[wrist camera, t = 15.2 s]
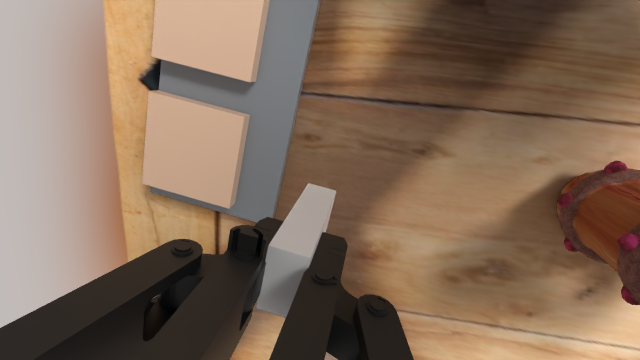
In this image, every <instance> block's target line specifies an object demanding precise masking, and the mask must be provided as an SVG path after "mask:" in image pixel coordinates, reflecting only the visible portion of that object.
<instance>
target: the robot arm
mask: <svg viewBox="0 0 640 360" xmlns="http://www.w3.org/2000/svg"><path fill="white" fill-rule="evenodd" d="M335 195H336V191H335V190H332V189H328V188H324V187H321V186H317V185H314V184H310V183H308V185H307V186H306V188H305V189H304V191H303V192H302V194H301V196H300V197H299V199H298V200H297V202H296V203H295V205H294V206H293V208H292V210H291V211H290V213H289V214H288V216H287V217H286V219H285V220H284V221H280V220H277V219H274V218H270V217H266V218H264V219H261V220H259V221H258V223H257V224H256V225H255V227H254V226H249V225H240V226H236V227H234V228H232V229H231V230H230V235H229V242H228V248H227V251H226V252H225V253H224V254H222V255H212V254H202V251H203V249H202V247H201V245H200V244H198V243H197V242H195V241H192V240H188V239H177V240H172V241H170V242H167V243H165V244H163V245H161V246H159V247H157V248H155V249H153V250H151V251H150V252H148V253H146V254H144V255H142V256H140V257H138V258H136V259H134V260H132V261H130V262H128V263H126V264H124V265H122V266H120V267H118V268H116V269H114V270H113V271H111V272H109V273H107V274H105V275H103V276H101V277H99V278H97V279H95V280H93V281H91V282H89V283H88V284H85V285H83V286H81V287H79V288H77V289H76V290H74V291H72V292H70V293H68V294H66V295H64V296H62V297H60V298H58V299H56V300H54V301H52V302H50V303H48V304H46V305H45V306H42V307H40V308H39V309H37V310H35V311H33V312H31V313H29V314H27V315H25V316H23V317H21V318H19V319H17V320H15V321H13V322H11V323H9V324H7V325H5V326H3V327H2V328H0V360H229V359H230V357H231V356H232V354H233V352H234V350H235V348H236V346H237V344H238V342H239V340H240V338H241V336H242V335H243V333H244V331H245V329H246V327H247V325H248V323H249V321H250V319H251V316H252V312H253V307H254V305H255V303H256V301H257V299H258V301H257V306H256V308H257V309H260V310H263V311H266V312H270V313H273V314H276V315H279V316H282V317H285V318H286V319H285V322H284V324H283V327H282V329H281V332H280V334H279V337H278V339H277V342H276V344H275V347H274V349H273V352H272V354H271V357H270V359H269V360H324V359H325V354H326V352H328V353H329V354H331V355H332V356H334V357H335V358H337V359H338V360H414V359H413V356H412V354H411V351H410V348H409V345H408V342H407V339H406V337H405V334H404V331H403V328H402V325H401V323H400V320H399V317H398V314H397V311H396V310H395V308H394V306H393V305H392V304H391V303H390V302H389V301H388V300H386V299H384V298H382V297H380V296H376V295H367V294H366V295H363V296H361V297H360V298H359V299H357V298H355V297H354V296H352V295H351V294H349V293H348V292H347V291H346V290H345V289H344V288H343V286H342V284H341V274H342V270H343V265H344V260H345V256H346V251H347V246H348V245H347V243H346V241H345V239H344V238H342V237H338V236H335V235H332V234H328V233H326V229H327V226H328V222H329V218H330V214H331V210H332V207H333V203H334V199H335ZM157 295H158V296H157ZM155 296H157V297H155ZM154 297H155V298H154ZM153 298H154V299H153Z"/></svg>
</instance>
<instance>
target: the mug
mask: <svg viewBox="0 0 640 360" xmlns="http://www.w3.org/2000/svg"><path fill="white" fill-rule="evenodd" d="M557 202H558V204H557V214H558V217H559V218H560V224H561V227H562V230H563V232H564V234H565V237H566V239H565V240H564V244H565V247H566V249H568V250H569V251H573V252H576V251H580V252H582V253H583V254H585V255H586V256H587V257H589V258H591V259H594V260H596V261H599V262H603V263H606V264H610V265H611V266H612V267H613V268H614V269H615V270H616V271H617V272H618V274H619V276H620V278H621V280H622V282H623V285H624V286H623V288H622V289H621V294H622V298H623V299H624V300H625V301H626V302H627V303H630V304H632V305H640V170H634V169H627V167H626V165H625V164H624V163H622V162H620V161H614V162H611V163H610V164H608V165H607V166H606V167H605V169H604V170H600V171H597V172H594V173H585V174H583V175H581V176H579V177H577V178H575V179H573V180H572V181H570V182H569V183H568V184H567V185H566V186H565V187H564V188H563V190H562V192H561V195H560V196H559V197H558V200H557Z"/></svg>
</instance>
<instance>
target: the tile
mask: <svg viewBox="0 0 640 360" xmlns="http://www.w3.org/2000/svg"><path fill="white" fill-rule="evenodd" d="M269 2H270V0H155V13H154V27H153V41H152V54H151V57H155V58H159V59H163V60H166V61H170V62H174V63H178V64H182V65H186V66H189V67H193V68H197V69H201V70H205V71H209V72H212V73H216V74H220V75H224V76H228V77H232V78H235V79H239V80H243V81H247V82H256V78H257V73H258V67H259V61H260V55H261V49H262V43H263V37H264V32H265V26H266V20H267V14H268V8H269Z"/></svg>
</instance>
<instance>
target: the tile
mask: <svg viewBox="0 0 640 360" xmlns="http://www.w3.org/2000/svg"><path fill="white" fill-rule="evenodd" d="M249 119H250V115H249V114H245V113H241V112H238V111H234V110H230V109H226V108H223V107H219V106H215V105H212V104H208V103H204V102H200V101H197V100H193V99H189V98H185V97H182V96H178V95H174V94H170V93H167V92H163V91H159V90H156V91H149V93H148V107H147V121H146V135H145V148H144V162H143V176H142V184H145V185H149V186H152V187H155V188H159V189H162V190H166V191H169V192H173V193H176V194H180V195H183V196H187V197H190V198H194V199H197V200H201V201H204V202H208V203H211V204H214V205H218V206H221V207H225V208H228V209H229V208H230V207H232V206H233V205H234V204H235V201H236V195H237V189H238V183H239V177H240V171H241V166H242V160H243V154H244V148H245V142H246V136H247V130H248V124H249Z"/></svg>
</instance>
